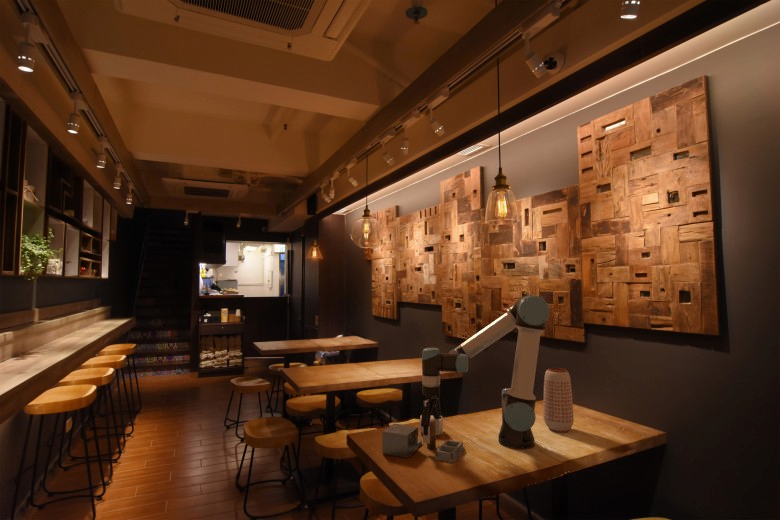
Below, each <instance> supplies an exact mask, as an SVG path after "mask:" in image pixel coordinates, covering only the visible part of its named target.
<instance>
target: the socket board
mask: <svg viewBox="0 0 780 520" xmlns="http://www.w3.org/2000/svg"><path fill="white" fill-rule="evenodd" d="M463 443H464V442H462V441H456V440H451V439H446V441H444V442H443V443H442V444H441V445H440V446H439V447H438V448H436V449H437V450H436V449H435V455H433V460H437V461H443V462H446V463H447V462H448V463H452V464H454V463H455V462H456V461H457V459H458V458H459V457H460V456H461V455H462V454H463V452H464V450H465V446H464V444H463Z"/></svg>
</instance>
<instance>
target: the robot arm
mask: <svg viewBox="0 0 780 520" xmlns="http://www.w3.org/2000/svg"><path fill="white" fill-rule="evenodd" d="M549 316H550V307H549V304H548V303H547V301H546V300H545V299H544V298H543V297H542V296H539V295H536V294H526V295H523V296H522V297H520V298H519V299H518V300H517V301H516V302H515V303H513V304H512V305H511V306H510V307H507V309H506V311H505V313H504V314H502V315H501V316H499V317H498V318H496V319H495V320H494V321H492V322H491V323H489V324H488V325H486V326H485V327H484V328H482V329H481V330H479V331H478V332H476V333H475V334H473V335H472V336H471V337H469V338H468V339H466V340H465V341H463V342H462V343H460V344H459V345H458V346H455V348H452V349H451V350H449V352H448V353H443V352H441V351H440V349H439V348H438V347H426V348H423V350H422V351H421V352H422V353H421V355H422V356H421V357H422V358H421V368H422V370H421V372H422V373H421V375H422V376H421V377H420V378H421V380H422V381H421V384H422V386H421V387H422V389H421V391H422V393H421V394H422V395H423V396H425V399H424V400H423V401H422V408H421V409H422V410H421V415H422V418H421V426H422V427H423V433H422V440H423V441H422V443H424V444H427V443H430V427H429V423H430V417H431V416H433V417H434V418H435V419H434V418H433V420H435V427H436V436H439V435H440V434H439V419H441V416H442V412H441V411H442V410H441V403H440V402H441V401H440V395H441V386H440V384H441V372H442V373H443V372H446V373H447V372H448V373H460V374H461V373H468V371H469V360H471V359H472V358H473V357H475V356H476V355H477V354H479V353H481V352H482V351H484V350H485V349H487V348H488V347H489V346H491V345H492V344H494V343H495V342H497V341H498V340H500V339H501V338H503V337H504V336H506V335H507V334H508V333H510V332H512V331H513V330H515V329H517V330H518V333H517V341H516V347H515V348H516V349H515V355H514V363H513V368H512V369H513V370H512V375H511V376H512V377H511V384H510V387H508V388H507V387H506V388H503V389H502V390H501V395H500V396H501V415H502V416H501V420H502V421H501V426H500V430H499V432H498V437H497V438H498V441H497V442H498V443H499V444H500V445H502V446H504V447H507V448H510V449H515V450H517V449H518V450H519V449H520V450H525V449H531V448H533V447H534V446H535V445H536V443H535V442H536V441H535V440H536V439H535V437H534V434H533V431H532V427H533V426H534V425H535V422H536V411H535V409H536V402H537V397H536V395H535V394H534V387H535V379H536V372H537V363H538V357H539V356H538V355H539V347H540V341H541V334H542V333H544V332H545V331H546V328H547V327H546V326H547V325H546V324H547V321H548V318H549Z"/></svg>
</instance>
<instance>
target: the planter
mask: <svg viewBox="0 0 780 520" xmlns="http://www.w3.org/2000/svg"><path fill="white" fill-rule="evenodd" d="M571 381H572V380H571V376H570V373H569V372H568V370H567V369H565V368H561V367H549V368H548V369H547V370H545V374H544V380H543V421H544V423H545V426H546V427H547V428H548V429H549V430H550V431H552V432H557V433H567V432H569V430H571V428H572V427H573V425H574V421H575V419H574V402H573V389H572V382H571Z"/></svg>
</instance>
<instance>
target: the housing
mask: <svg viewBox="0 0 780 520" xmlns="http://www.w3.org/2000/svg"><path fill="white" fill-rule="evenodd" d="M418 438H419V426H413V425H409V424H400V423H396V422H395V423H392V424H391V425H389V426H388V427H387V428H385V429H384V430H382V442H381V444H382V446H381V447H382V448H381V449H382V454H385V455H389V456H395V457H401V458H404V459H409V457H410V456H412V455H413V454H414V453H415V452H416V451H417V450H419V447H418V440H419V439H418Z"/></svg>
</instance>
